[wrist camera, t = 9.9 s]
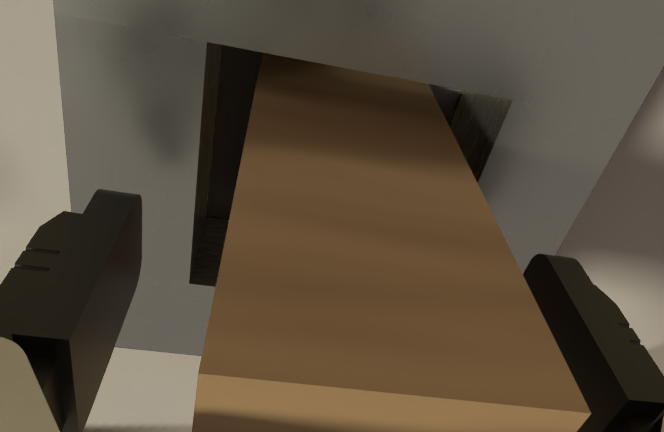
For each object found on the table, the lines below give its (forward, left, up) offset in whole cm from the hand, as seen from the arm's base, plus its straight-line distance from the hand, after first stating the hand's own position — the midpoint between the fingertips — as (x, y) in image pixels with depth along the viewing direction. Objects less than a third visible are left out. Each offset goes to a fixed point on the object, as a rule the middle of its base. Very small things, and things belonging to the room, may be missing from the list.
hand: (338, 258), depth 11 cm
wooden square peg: (0, 0, -5) cm, 5 cm away
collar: (0, 0, -5) cm, 5 cm away
